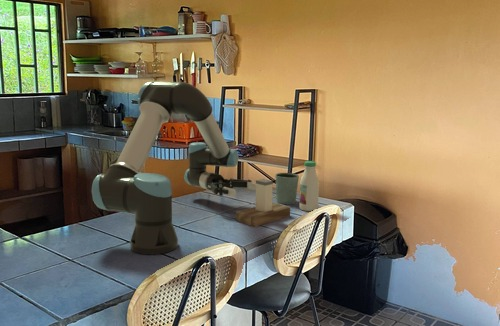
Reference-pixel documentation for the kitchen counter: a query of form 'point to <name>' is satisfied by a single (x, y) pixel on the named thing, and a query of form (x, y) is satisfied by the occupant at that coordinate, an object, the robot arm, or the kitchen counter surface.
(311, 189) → the milk bottle
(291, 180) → the green cup
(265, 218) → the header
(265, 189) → the plug
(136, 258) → the kitchen counter surface
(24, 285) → the kitchen counter surface
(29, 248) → the kitchen counter surface
